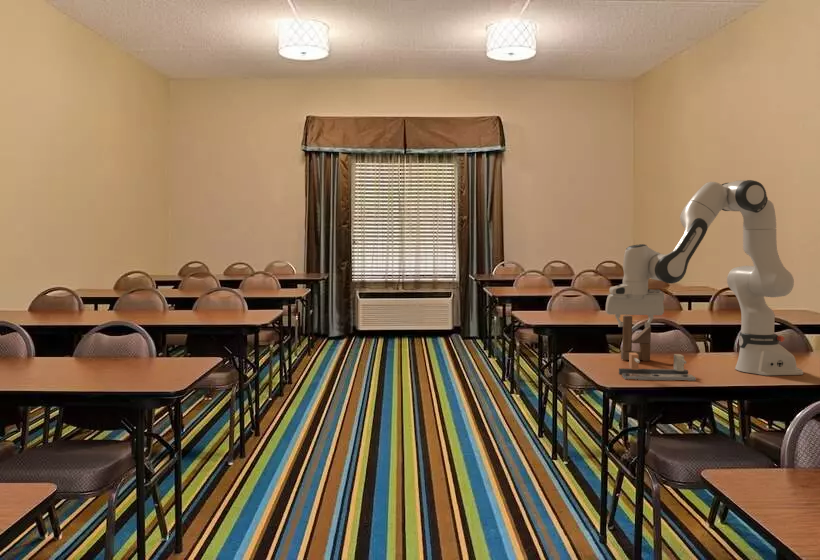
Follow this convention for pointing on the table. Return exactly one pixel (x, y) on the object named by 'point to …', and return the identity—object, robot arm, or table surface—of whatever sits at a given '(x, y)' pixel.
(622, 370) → the rail
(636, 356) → the block
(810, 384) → the table surface
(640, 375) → the hole strip
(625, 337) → the brown angular bracket
